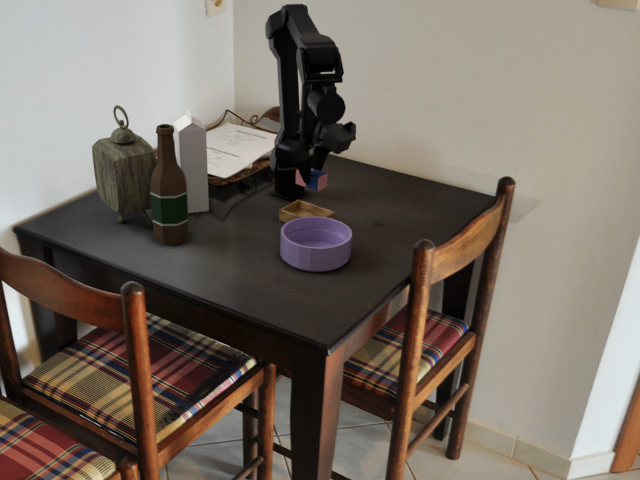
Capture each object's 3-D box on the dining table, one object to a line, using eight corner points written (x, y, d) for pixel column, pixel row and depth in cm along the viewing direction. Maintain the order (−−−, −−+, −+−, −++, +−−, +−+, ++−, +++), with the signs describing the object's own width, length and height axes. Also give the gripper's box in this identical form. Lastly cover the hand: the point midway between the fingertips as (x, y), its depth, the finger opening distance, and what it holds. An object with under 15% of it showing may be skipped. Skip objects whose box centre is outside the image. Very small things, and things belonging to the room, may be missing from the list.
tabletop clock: (162, 227, 164) (154, 113, 149) (123, 237, 160) (111, 120, 145) (135, 203, 174) (124, 94, 159) (97, 212, 169) (83, 100, 155)
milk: (183, 214, 170) (176, 117, 157) (178, 203, 174) (171, 108, 162) (209, 211, 171) (205, 114, 158) (203, 200, 176) (199, 105, 163)
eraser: (295, 183, 160) (295, 170, 158) (304, 179, 162) (304, 165, 160) (318, 191, 157) (319, 177, 155) (326, 186, 159) (327, 173, 157)
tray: (278, 219, 168) (278, 209, 166) (298, 209, 173) (298, 199, 171) (315, 233, 163) (316, 222, 161) (334, 222, 167) (335, 211, 166)
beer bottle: (196, 232, 162) (191, 122, 148) (180, 248, 156) (174, 135, 142) (163, 226, 164) (155, 117, 150) (146, 242, 158) (137, 129, 144)
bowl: (266, 258, 153) (266, 233, 150) (307, 233, 162) (308, 210, 159) (323, 280, 146) (324, 255, 143) (363, 254, 155) (365, 230, 152)
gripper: (320, 128, 140) (316, 206, 149) (374, 104, 152) (367, 177, 161) (273, 115, 145) (271, 190, 154) (329, 93, 157) (324, 164, 166)
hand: (311, 180), depth 159 cm, fingers closed on eraser, 3 cm apart
